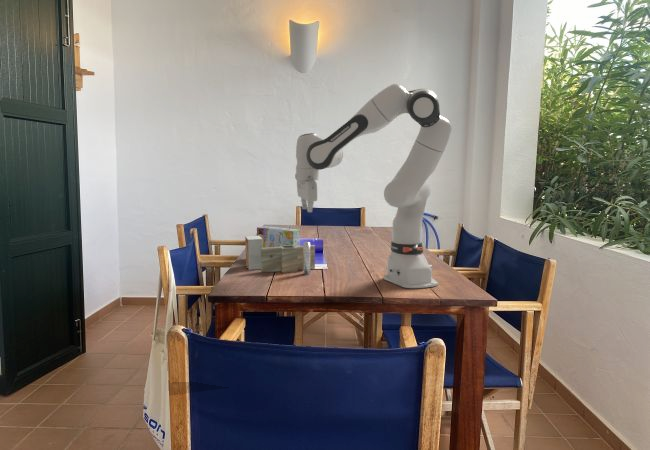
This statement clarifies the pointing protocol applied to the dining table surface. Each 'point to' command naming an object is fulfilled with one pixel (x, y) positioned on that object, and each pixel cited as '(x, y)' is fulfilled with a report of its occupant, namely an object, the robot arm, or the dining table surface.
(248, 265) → the small box
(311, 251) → the hinge
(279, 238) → the snack box
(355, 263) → the dining table surface
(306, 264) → the hinge pin
